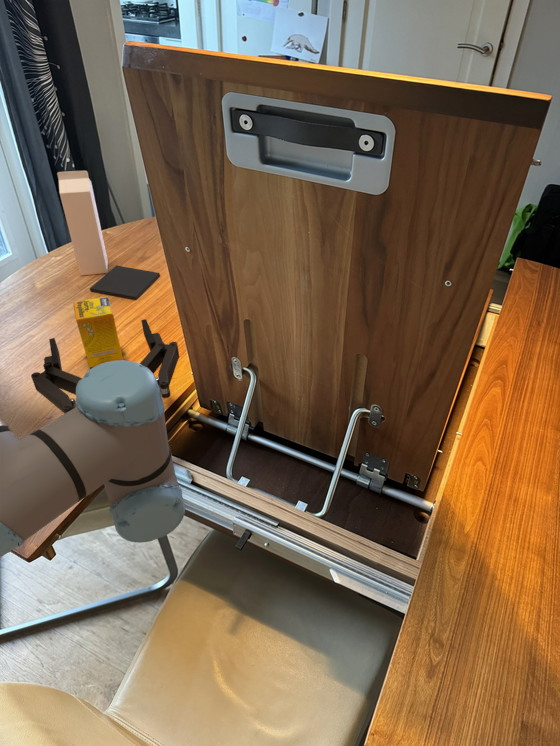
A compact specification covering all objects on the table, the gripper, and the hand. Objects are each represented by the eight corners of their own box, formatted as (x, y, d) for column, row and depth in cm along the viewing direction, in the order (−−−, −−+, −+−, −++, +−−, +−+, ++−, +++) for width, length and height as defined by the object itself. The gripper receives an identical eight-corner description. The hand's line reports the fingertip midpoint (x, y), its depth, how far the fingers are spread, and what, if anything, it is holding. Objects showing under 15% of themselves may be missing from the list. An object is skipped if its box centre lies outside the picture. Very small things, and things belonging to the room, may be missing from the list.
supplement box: (86, 352, 95) (72, 301, 88) (119, 345, 97) (108, 295, 90) (89, 371, 91) (75, 319, 84) (124, 364, 93) (113, 312, 86)
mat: (90, 291, 111) (89, 288, 111) (116, 268, 120) (116, 265, 119) (136, 300, 109) (135, 297, 109) (160, 276, 117) (159, 272, 117)
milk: (81, 263, 121) (57, 167, 107) (108, 261, 122) (88, 165, 108) (80, 276, 116) (54, 177, 102) (108, 273, 118) (86, 175, 104)
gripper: (27, 476, 63) (21, 374, 78) (222, 422, 71) (182, 338, 86) (8, 434, 58) (5, 333, 73) (219, 380, 66) (177, 299, 81)
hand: (100, 335), depth 80 cm, fingers open, 13 cm apart
